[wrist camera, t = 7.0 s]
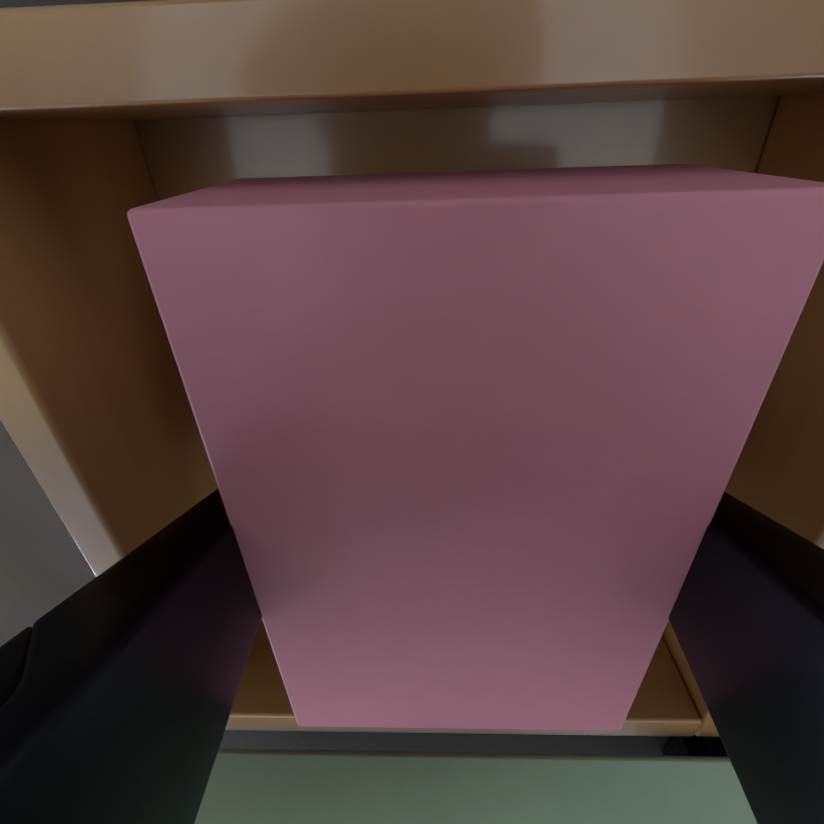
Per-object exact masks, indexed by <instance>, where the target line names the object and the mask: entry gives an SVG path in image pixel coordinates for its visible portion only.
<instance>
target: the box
mask: <svg viewBox="0 0 824 824" xmlns="http://www.w3.org/2000/svg"><path fill="white" fill-rule="evenodd" d="M657 164H693V165H700V166H707V167H715V168H722V169H729V170H736V171H744V172H751V173H758V174H766V175H773V176H780V177H788V178H795V179H802V180H810V181H817V182H824V0H148V1H128V2H108V3H88V4H68V5H48V6H28V7H7V8H0V420H1V422H2V423H3V425H4V426H5V428H6V430H7V431H8V433H9V435H10V436H11V438H12V440H13V441H14V443H15V445H16V446H17V448H18V450H19V451H20V453H21V454H22V456H23V458H24V459H25V461H26V463H27V464H28V466H29V468H30V469H31V471H32V473H33V474H34V476H35V478H36V479H37V481H38V483H39V484H40V486H41V487H42V489H43V491H44V492H45V494H46V496H47V497H48V499H49V501H50V502H51V504H52V506H53V507H54V509H55V511H56V512H57V514H58V515H59V517H60V519H61V520H62V522H63V524H64V525H65V527H66V529H67V530H68V532H69V534H70V535H71V537H72V539H73V540H74V542H75V543H76V545H77V547H78V548H79V550H80V552H81V553H82V555H83V557H84V558H85V560H86V562H87V563H88V565H89V567H90V568H91V570H92V572H93V573H94V575H95V576H96V577H97V576H99V575H100V574H101V573H103V572H104V571H105V570H107V569H108V568H109V567H111V566H112V565H114V564H115V563H116V562H118V561H119V560H120V559H122V558H123V557H124V556H126V555H127V554H129V553H130V552H131V551H133V550H134V549H135V548H137V547H138V546H140V545H141V544H142V543H144V542H145V541H146V540H148V539H149V538H150V537H152V536H153V535H155V534H156V533H157V532H159V531H160V530H161V529H163V528H164V527H166V526H167V525H168V524H170V523H171V522H172V521H174V520H175V519H176V518H178V517H179V516H181V515H182V514H183V513H185V512H186V511H187V510H189V509H190V508H192V507H193V506H194V505H196V504H197V503H198V502H200V501H201V500H202V499H204V498H205V497H207V496H208V495H209V494H211V493H212V492H213V491H215V490H216V489H217V488H218V486H217V483H216V480H215V477H214V474H213V471H212V468H211V465H210V462H209V459H208V456H207V453H206V450H205V447H204V444H203V441H202V438H201V435H200V432H199V429H198V426H197V423H196V420H195V417H194V414H193V411H192V408H191V405H190V402H189V399H188V396H187V393H186V390H185V387H184V384H183V381H182V378H181V375H180V372H179V369H178V366H177V364H176V361H175V358H174V355H173V352H172V349H171V346H170V343H169V340H168V337H167V334H166V331H165V328H164V325H163V322H162V319H161V316H160V313H159V310H158V307H157V304H156V301H155V298H154V295H153V292H152V289H151V286H150V283H149V280H148V277H147V274H146V271H145V268H144V265H143V262H142V259H141V256H140V253H139V250H138V247H137V244H136V241H135V238H134V235H133V232H132V229H131V226H130V223H129V220H128V217H127V212H128V211H129V210H130V209H132V208H135V207H138V206H142V205H146V204H149V203H153V202H157V201H160V200H164V199H168V198H171V197H175V196H179V195H182V194H186V193H190V192H193V191H197V190H201V189H204V188H208V187H212V186H215V185H219V184H223V183H226V182H230V181H234V180H237V179H244V178H273V177H303V176H332V175H362V174H391V173H421V172H450V171H480V170H509V169H539V168H568V167H598V166H627V165H657ZM724 491H725V492H726V493H728V494H730V495H732V496H733V497H735V498H737V499H739V500H740V501H742V502H744V503H745V504H747V505H749V506H751V507H752V508H754V509H756V510H757V511H759V512H761V513H763V514H764V515H766V516H768V517H769V518H771V519H773V520H775V521H776V522H778V523H780V524H781V525H783V526H785V527H787V528H788V529H790V530H792V531H794V532H795V533H797V534H799V535H800V536H802V537H804V538H806V539H807V540H809V541H811V542H812V543H814V544H816V545H818V546H819V547H821V548H823V549H824V261H823V263H822V266H821V268H820V270H819V273H818V275H817V277H816V280H815V282H814V284H813V287H812V289H811V291H810V294H809V296H808V298H807V300H806V303H805V305H804V307H803V310H802V312H801V314H800V317H799V319H798V321H797V324H796V326H795V328H794V331H793V333H792V335H791V337H790V340H789V342H788V344H787V347H786V349H785V351H784V354H783V356H782V358H781V361H780V363H779V365H778V368H777V370H776V372H775V374H774V377H773V379H772V381H771V384H770V386H769V388H768V391H767V393H766V395H765V398H764V400H763V402H762V405H761V407H760V409H759V412H758V414H757V416H756V418H755V421H754V423H753V425H752V428H751V430H750V432H749V435H748V437H747V439H746V442H745V444H744V446H743V449H742V451H741V453H740V455H739V458H738V460H737V462H736V465H735V467H734V469H733V472H732V474H731V476H730V479H729V481H728V483H727V486H726V488H725V490H724ZM225 730H276V731H346V732H416V733H486V734H556V735H626V736H693V735H694V734H695V735H696V736H708V737H720V736H719V734H718V731H717V729H716V727H715V725H714V722H713V720H712V718H711V715H710V713H709V711H708V708H707V706H706V704H705V702H704V699H703V697H702V695H701V692H700V690H699V688H698V685H697V683H696V681H695V678H694V676H693V674H692V672H691V669H690V667H689V665H688V662H687V660H686V658H685V655H684V653H683V651H682V649H681V646H680V644H679V642H678V639H677V637H676V635H675V632H674V630H673V628H672V625H671V623H670V621H669V620H668V622H667V624H666V627H665V629H664V631H663V634H662V636H661V638H660V641H659V643H658V645H657V648H656V650H655V652H654V654H653V657H652V659H651V661H650V664H649V666H648V668H647V671H646V673H645V675H644V678H643V680H642V682H641V685H640V687H639V689H638V691H637V694H636V696H635V698H634V701H633V703H632V705H631V708H630V710H629V712H628V715H627V717H626V719H625V722H624V724H623V726H622V729H621V730H619V731H603V730H530V729H456V728H383V727H309V726H298V724H297V722H296V719H295V716H294V713H293V710H292V707H291V704H290V701H289V698H288V695H287V692H286V689H285V686H284V683H283V680H282V677H281V674H280V671H279V668H278V665H277V662H276V659H275V656H274V653H273V650H272V647H271V644H270V641H269V638H268V635H267V632H266V629H265V626H264V623H263V620H262V617H261V620H260V624H259V627H258V630H257V633H256V636H255V639H254V642H253V645H252V648H251V651H250V654H249V657H248V660H247V664H246V667H245V670H244V673H243V676H242V679H241V682H240V685H239V688H238V691H237V694H236V697H235V700H234V704H233V707H232V710H231V713H230V716H229V719H228V722H227V725H226V728H225Z"/></svg>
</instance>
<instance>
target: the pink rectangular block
mask: <svg viewBox="0 0 824 824" xmlns="http://www.w3.org/2000/svg"><path fill="white" fill-rule="evenodd" d="M127 217H128V220H129V223H130V226H131V229H132V232H133V235H134V238H135V241H136V244H137V247H138V250H139V253H140V256H141V259H142V262H143V265H144V268H145V271H146V274H147V277H148V280H149V283H150V286H151V289H152V292H153V295H154V298H155V301H156V304H157V307H158V310H159V313H160V316H161V319H162V322H163V325H164V328H165V331H166V334H167V337H168V340H169V343H170V346H171V349H172V352H173V355H174V358H175V361H176V364H177V366H178V369H179V372H180V375H181V378H182V381H183V384H184V387H185V390H186V393H187V396H188V399H189V402H190V405H191V408H192V411H193V414H194V417H195V420H196V423H197V426H198V429H199V432H200V435H201V438H202V441H203V444H204V447H205V450H206V453H207V456H208V459H209V462H210V465H211V468H212V471H213V474H214V477H215V480H216V483H217V486H218V489H219V492H220V495H221V498H222V501H223V504H224V507H225V510H226V513H227V516H228V519H229V522H230V525H231V526H232V528H233V530H234V533H235V536H236V539H237V542H238V545H239V548H240V551H241V554H242V557H243V560H244V563H245V566H246V569H247V572H248V576H249V579H250V582H251V585H252V588H253V591H254V594H255V597H256V600H257V603H258V606H259V609H260V612H261V615H262V620H263V623H264V626H265V629H266V632H267V635H268V638H269V641H270V644H271V647H272V650H273V653H274V656H275V659H276V662H277V665H278V668H279V671H280V674H281V677H282V680H283V683H284V686H285V689H286V692H287V695H288V698H289V701H290V704H291V707H292V710H293V713H294V716H295V719H296V722H297V724H298V726H309V727H383V728H456V729H530V730H603V731H619V730H621V729H622V726H623V724H624V722H625V719H626V717H627V715H628V712H629V710H630V708H631V705H632V703H633V701H634V698H635V696H636V694H637V691H638V689H639V687H640V685H641V682H642V680H643V678H644V675H645V673H646V671H647V668H648V666H649V664H650V661H651V659H652V657H653V654H654V652H655V650H656V648H657V645H658V643H659V641H660V638H661V636H662V634H663V631H664V629H665V627H666V624H667V622H668V620H669V619H668V618H669V615H670V613H671V610H672V608H673V606H674V603H675V601H676V599H677V597H678V594H679V592H680V590H681V587H682V585H683V583H684V580H685V578H686V576H687V573H688V571H689V569H690V566H691V564H692V562H693V559H694V557H695V555H696V552H697V550H698V548H699V545H700V543H701V541H702V539H703V536H704V534H705V532H706V529H707V527H708V525H709V524H710V523H711V520H712V518H713V516H714V513H715V511H716V509H717V506H718V504H719V502H720V499H721V497H722V495H723V493H724V490H725V488H726V486H727V483H728V481H729V479H730V476H731V474H732V472H733V469H734V467H735V465H736V462H737V460H738V458H739V455H740V453H741V451H742V449H743V446H744V444H745V442H746V439H747V437H748V435H749V432H750V430H751V428H752V425H753V423H754V421H755V418H756V416H757V414H758V412H759V409H760V407H761V405H762V402H763V400H764V398H765V395H766V393H767V391H768V388H769V386H770V384H771V381H772V379H773V377H774V374H775V372H776V370H777V368H778V365H779V363H780V361H781V358H782V356H783V354H784V351H785V349H786V347H787V344H788V342H789V340H790V337H791V335H792V333H793V331H794V328H795V326H796V324H797V321H798V319H799V317H800V314H801V312H802V310H803V307H804V305H805V303H806V300H807V298H808V296H809V294H810V291H811V289H812V287H813V284H814V282H815V280H816V277H817V275H818V273H819V270H820V268H821V266H822V263H823V261H824V182H817V181H810V180H802V179H795V178H788V177H780V176H773V175H766V174H758V173H751V172H744V171H736V170H729V169H722V168H715V167H707V166H700V165H693V164H657V165H627V166H598V167H568V168H539V169H509V170H480V171H450V172H421V173H391V174H362V175H332V176H303V177H273V178H244V179H237V180H234V181H230V182H226V183H223V184H219V185H215V186H212V187H208V188H204V189H201V190H197V191H193V192H190V193H186V194H182V195H179V196H175V197H171V198H168V199H164V200H160V201H157V202H153V203H149V204H146V205H142V206H138V207H135V208H132V209H130V210H129V211H128V212H127Z"/></svg>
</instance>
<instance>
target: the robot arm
mask: <svg viewBox="0 0 824 824" xmlns="http://www.w3.org/2000/svg"><path fill="white" fill-rule="evenodd" d="M261 617H262V615H261V612H260V609H259V606H258V603H257V600H256V597H255V594H254V591H253V588H252V585H251V582H250V579H249V576H248V572H247V569H246V566H245V563H244V560H243V557H242V554H241V551H240V548H239V545H238V542H237V539H236V536H235V533H234V530H233V528H232V526H231V525H230V522H229V519H228V516H227V513H226V510H225V507H224V504H223V501H222V498H221V495H220V492H219V489H218V488H217V489H216V490H215V491H213V492H212V493H211V494H209V495H208V496H207V497H205V498H204V499H202V500H201V501H200V502H198V503H197V504H196V505H194V506H193V507H192V508H190V509H189V510H187V511H186V512H185V513H183V514H182V515H181V516H179V517H178V518H176V519H175V520H174V521H172V522H171V523H170V524H168V525H167V526H166V527H164V528H163V529H161V530H160V531H159V532H157V533H156V534H155V535H153V536H152V537H150V538H149V539H148V540H146V541H145V542H144V543H142V544H141V545H140V546H138V547H137V548H135V549H134V550H133V551H131V552H130V553H129V554H127V555H126V556H124V557H123V558H122V559H120V560H119V561H118V562H116V563H115V564H114V565H112V566H111V567H109V568H108V569H107V570H105V571H104V572H103V573H101V574H100V575H99V576H97V577H96V578H94V579H93V580H92V581H90V582H89V583H88V584H86V585H85V586H83V587H82V588H81V589H79V590H78V591H77V592H75V593H74V594H73V595H71V596H70V597H68V598H67V599H66V600H64V601H63V602H62V603H60V604H59V605H57V606H56V607H55V608H53V609H52V610H51V611H49V612H48V613H46V614H45V615H44V616H42V617H41V618H40V619H38V620H37V621H36V622H35V623H34V625H33V627H28V628H26V629H24V630H23V631H22V632H20V633H19V634H18V635H16V636H15V637H13V638H12V639H11V640H9V641H8V642H7V643H5V644H4V645H2V646H1V647H0V824H195V820H196V817H197V814H198V811H199V808H200V805H201V802H202V799H203V796H204V793H205V790H206V787H207V784H208V780H209V777H210V774H211V771H212V768H213V765H214V762H215V759H216V756H217V753H218V750H219V747H220V744H221V740H222V737H223V734H224V731H225V728H226V725H227V722H228V719H229V716H230V713H231V710H232V707H233V704H234V700H235V697H236V694H237V691H238V688H239V685H240V682H241V679H242V676H243V673H244V670H245V667H246V664H247V660H248V657H249V654H250V651H251V648H252V645H253V642H254V639H255V636H256V633H257V630H258V627H259V624H260V620H261ZM668 619H669V621H670V623H671V625H672V628H673V630H674V632H675V635H676V637H677V639H678V642H679V644H680V646H681V649H682V651H683V653H684V655H685V658H686V660H687V662H688V665H689V667H690V669H691V672H692V674H693V676H694V678H695V681H696V683H697V685H698V688H699V690H700V692H701V695H702V697H703V699H704V702H705V704H706V706H707V708H708V711H709V713H710V715H711V718H712V720H713V722H714V725H715V727H716V729H717V731H718V734H719V736H720V737H708V736H696V735H695V734H694V735H693V736H673V737H672V739H671V740H670V742H669V744H668V746H667V747H666V749H665V751H664V753H663V754H662V756H717V757H729V759H730V761H731V764H732V766H733V768H734V771H735V773H736V775H737V778H738V780H739V782H740V785H741V787H742V789H743V791H744V794H745V796H746V798H747V801H748V803H749V805H750V808H751V810H752V812H753V814H754V817H755V819H756V821H757V824H824V549H823V548H821V547H819V546H818V545H816V544H814V543H812V542H811V541H809V540H807V539H806V538H804V537H802V536H800V535H799V534H797V533H795V532H794V531H792V530H790V529H788V528H787V527H785V526H783V525H781V524H780V523H778V522H776V521H775V520H773V519H771V518H769V517H768V516H766V515H764V514H763V513H761V512H759V511H757V510H756V509H754V508H752V507H751V506H749V505H747V504H745V503H744V502H742V501H740V500H739V499H737V498H735V497H733V496H732V495H730V494H728V493H726V492H725V491H724V493H723V495H722V497H721V499H720V502H719V504H718V506H717V509H716V511H715V513H714V516H713V518H712V520H711V523H710V524H709V525H708V527H707V529H706V532H705V534H704V536H703V539H702V541H701V543H700V545H699V548H698V550H697V552H696V555H695V557H694V559H693V562H692V564H691V566H690V569H689V571H688V573H687V576H686V578H685V580H684V583H683V585H682V587H681V590H680V592H679V594H678V597H677V599H676V601H675V603H674V606H673V608H672V610H671V613H670V615H669V618H668Z"/></svg>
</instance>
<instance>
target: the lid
mask: <svg viewBox="0 0 824 824" xmlns="http://www.w3.org/2000/svg"><path fill="white" fill-rule="evenodd" d="M195 824H757V821H756V819H755V817H754V814H753V812H752V810H751V808H750V805H749V803H748V801H747V798H746V796H745V794H744V791H743V789H742V787H741V785H740V782H739V780H738V778H737V775H736V773H735V771H734V768H733V766H732V764H731V761H730V759H729V757H717V756H654V755H592V754H529V753H466V752H404V751H341V750H278V749H219V750H218V753H217V756H216V759H215V762H214V765H213V768H212V771H211V774H210V777H209V780H208V784H207V787H206V790H205V793H204V796H203V799H202V802H201V805H200V808H199V811H198V814H197V817H196V820H195Z"/></svg>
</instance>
